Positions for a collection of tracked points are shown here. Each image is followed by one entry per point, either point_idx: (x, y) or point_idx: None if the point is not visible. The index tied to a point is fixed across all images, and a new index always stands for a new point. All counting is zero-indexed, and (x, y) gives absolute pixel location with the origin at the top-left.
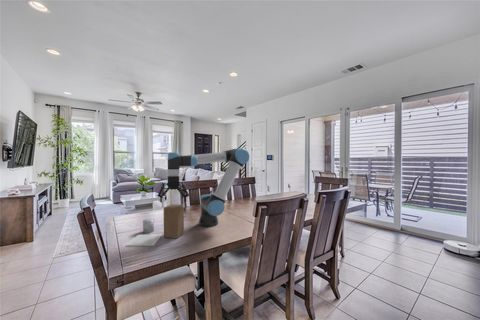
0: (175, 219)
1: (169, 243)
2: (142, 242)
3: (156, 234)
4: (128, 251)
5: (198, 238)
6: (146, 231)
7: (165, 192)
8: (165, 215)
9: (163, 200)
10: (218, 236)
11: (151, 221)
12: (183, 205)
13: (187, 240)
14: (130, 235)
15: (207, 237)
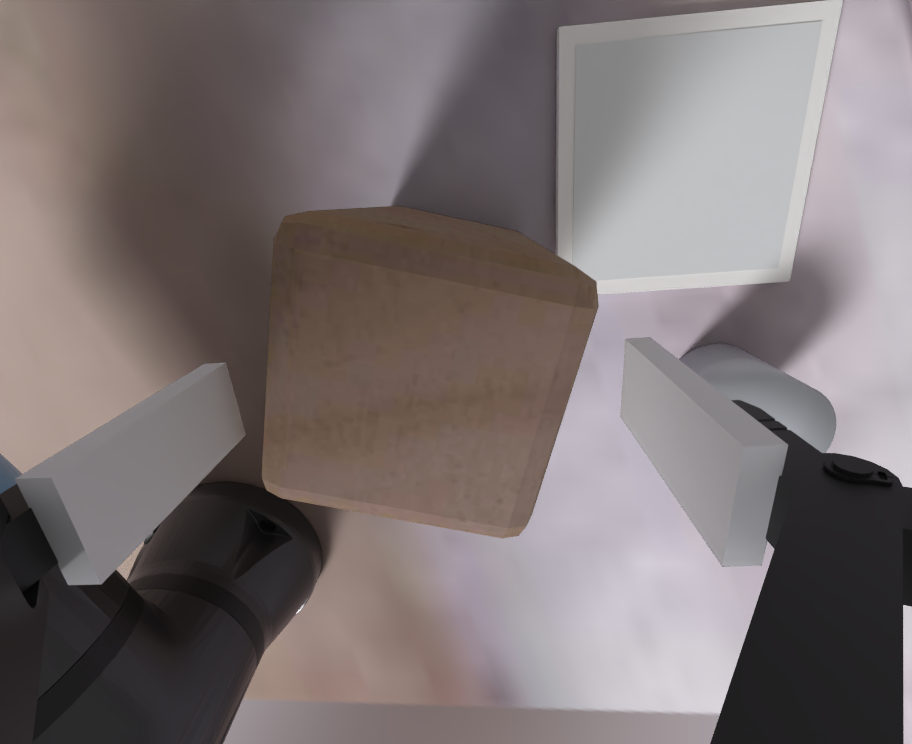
0: (361, 208)
1: (422, 90)
2: (690, 69)
3: (610, 287)
4: None
5: (196, 217)
6: (725, 349)
7: (782, 648)
8: (530, 247)
9: (688, 446)
10: (37, 264)
11: None
12: (186, 380)
13: (279, 167)
14: (855, 292)
15: (125, 240)
